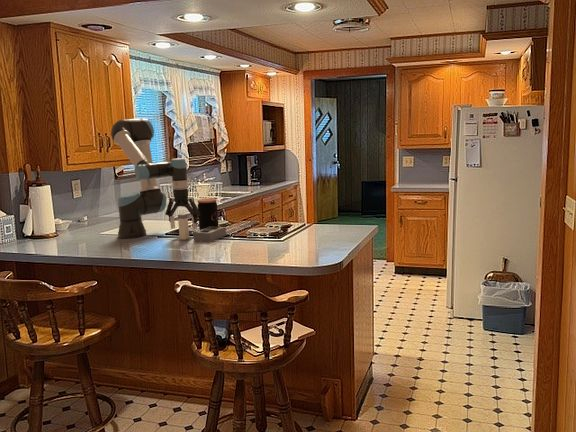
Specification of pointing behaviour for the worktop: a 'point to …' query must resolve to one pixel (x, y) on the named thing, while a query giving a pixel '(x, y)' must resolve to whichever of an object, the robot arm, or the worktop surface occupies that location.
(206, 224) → the coffee jar
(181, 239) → the deck mat
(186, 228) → the plug
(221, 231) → the socket box
